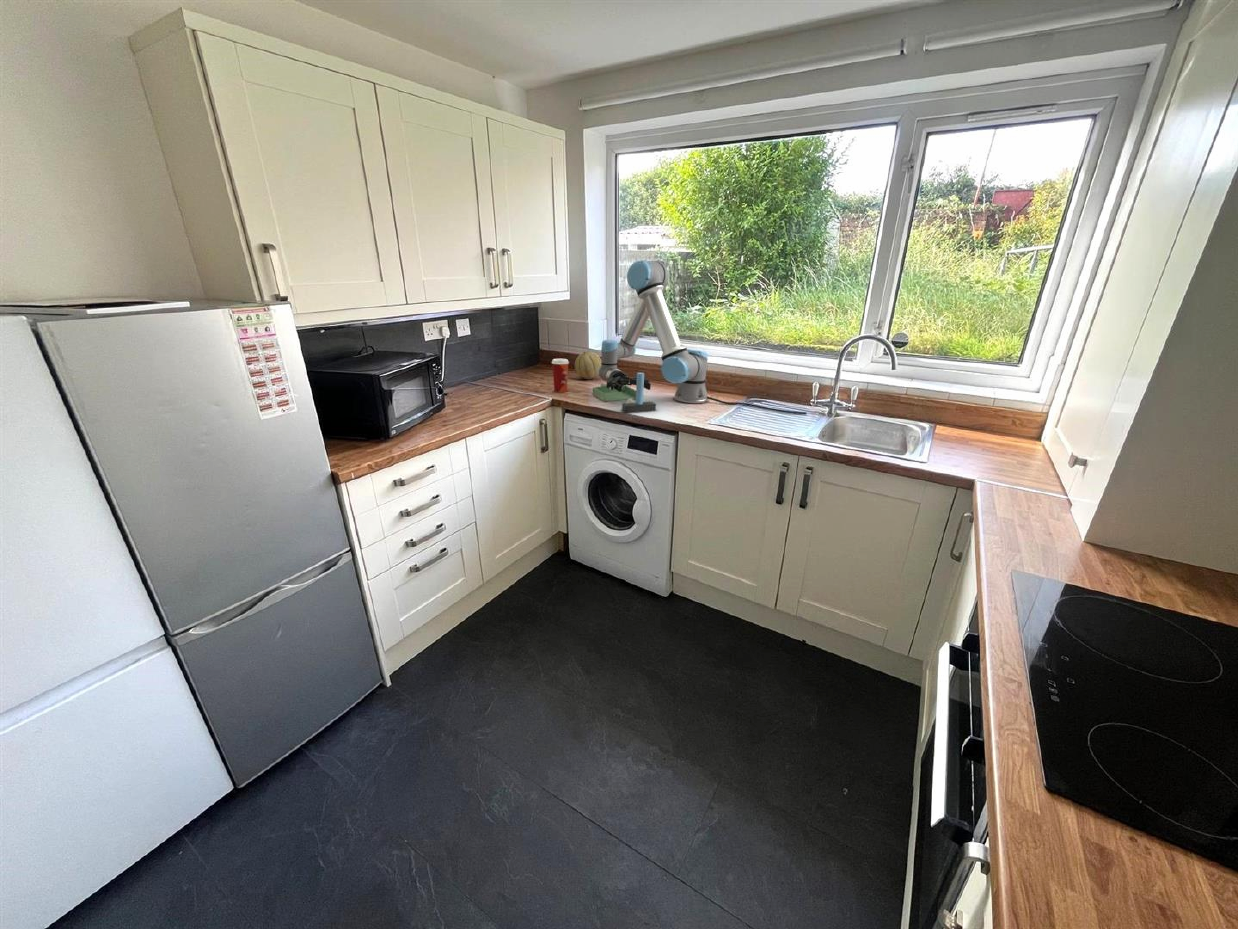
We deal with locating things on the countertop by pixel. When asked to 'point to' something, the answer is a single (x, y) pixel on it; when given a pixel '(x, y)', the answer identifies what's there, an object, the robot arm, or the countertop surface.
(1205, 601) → the countertop surface
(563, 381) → the coffee cup
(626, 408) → the wiper
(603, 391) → the green tray
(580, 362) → the cantaloupe
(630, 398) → the crumb ball
